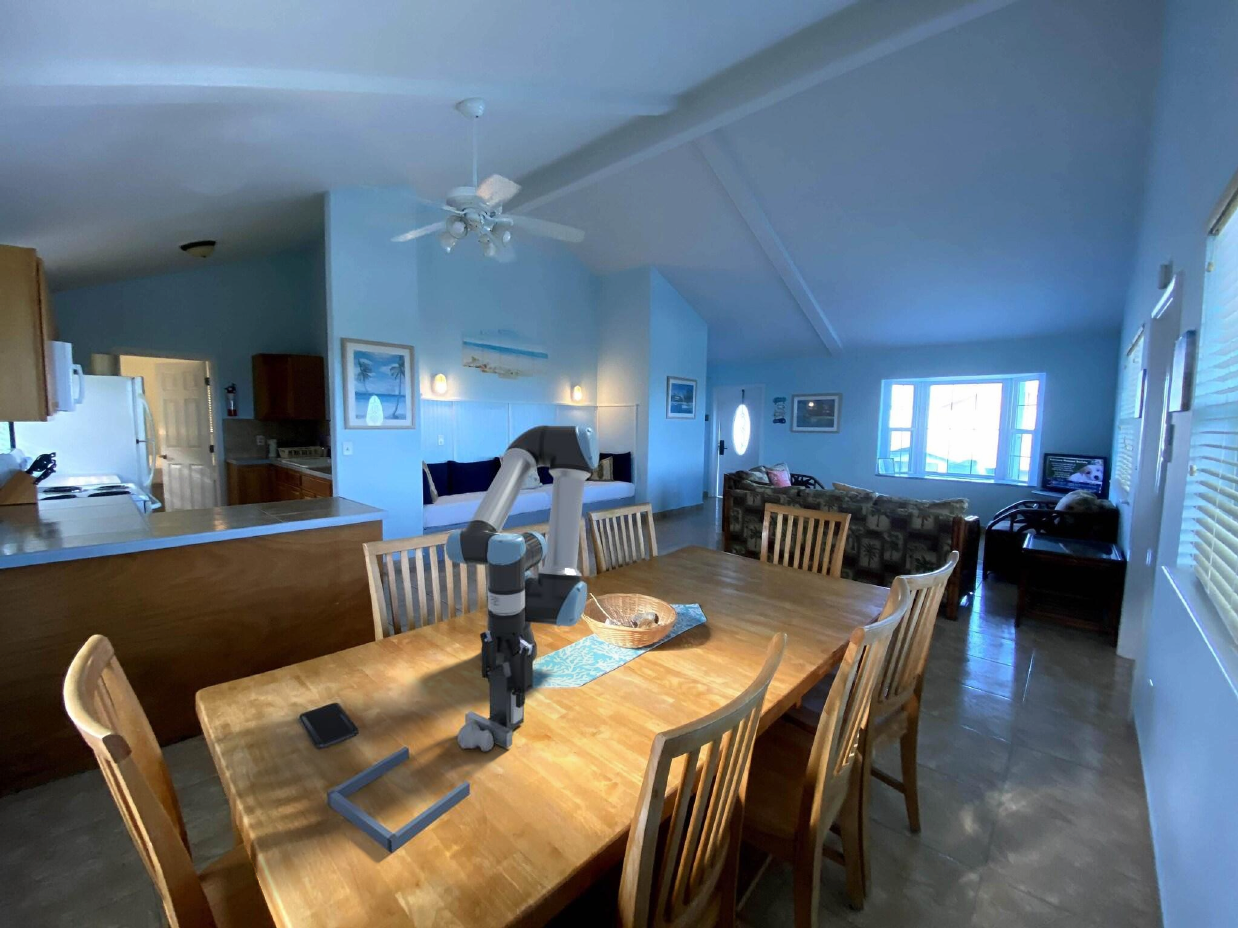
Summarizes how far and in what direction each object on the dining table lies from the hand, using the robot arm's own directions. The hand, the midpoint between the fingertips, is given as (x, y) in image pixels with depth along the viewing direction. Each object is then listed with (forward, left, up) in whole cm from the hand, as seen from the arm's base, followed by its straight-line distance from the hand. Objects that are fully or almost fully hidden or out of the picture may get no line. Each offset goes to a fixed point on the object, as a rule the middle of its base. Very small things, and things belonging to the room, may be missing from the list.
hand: (507, 715), depth 111 cm
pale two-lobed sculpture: (+9, 0, -3) cm, 9 cm away
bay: (+25, 0, -2) cm, 26 cm away
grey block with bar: (+2, 0, -2) cm, 3 cm away
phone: (+21, -31, -3) cm, 38 cm away
